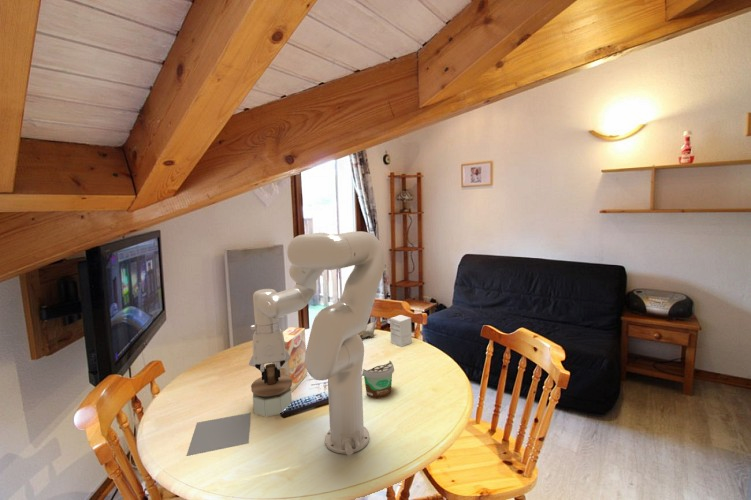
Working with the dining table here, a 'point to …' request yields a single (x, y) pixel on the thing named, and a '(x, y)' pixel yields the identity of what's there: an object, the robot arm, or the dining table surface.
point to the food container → (379, 380)
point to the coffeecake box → (295, 355)
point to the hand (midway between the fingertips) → (271, 380)
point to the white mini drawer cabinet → (400, 330)
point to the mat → (220, 434)
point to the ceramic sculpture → (368, 330)
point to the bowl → (271, 403)
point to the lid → (271, 383)
